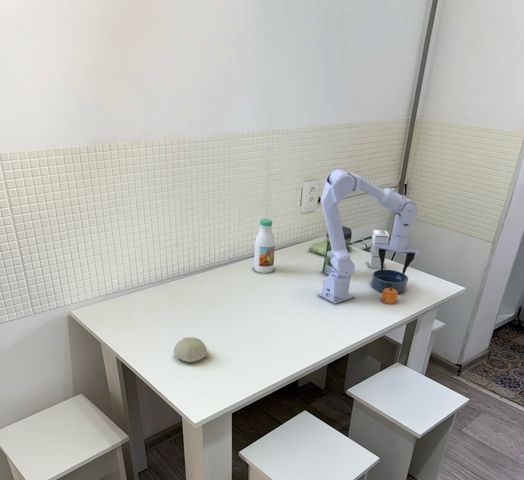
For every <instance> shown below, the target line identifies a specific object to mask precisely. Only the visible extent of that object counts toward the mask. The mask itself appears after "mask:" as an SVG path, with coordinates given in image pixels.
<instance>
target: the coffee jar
mask: <svg viewBox="0 0 524 480" xmlns="http://www.w3.org/2000/svg"><path fill="white" fill-rule="evenodd" d="M342 229H343V234H344V239H345V243H346V248H347V251H348V252H349V251H350V250H349V246H350V244H351V241H352V235H353V234H352V233H353V231H352V228H349V227H347V226H345V225H342ZM326 231H327V233H326V238H325V240H326V239H327V249H326V255H325V256H324V259H323V266H322V273H323V274H324V275H325V276H329V275H330V273H331V269H332V267H333V266H332V265H331V263H330V259H331V249H332V248H331V244H330V239H329V235H328V230H326Z"/></svg>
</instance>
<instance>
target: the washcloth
mask: <svg viewBox="0 0 524 480" xmlns="http://www.w3.org/2000/svg"><path fill="white" fill-rule="evenodd" d="M352 248H353V247H352V246H350V245H349V251H350V250H352ZM326 249H327V239H326V238H325V239H323V240H321V241H319V242H315V243H313V244H311V245H309V247H308V251H309V252H311V253H315V254H316V255H317V254H318V255H321V256H323V257H325V255H326Z"/></svg>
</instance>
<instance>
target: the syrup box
mask: <svg viewBox="0 0 524 480" xmlns="http://www.w3.org/2000/svg"><path fill="white" fill-rule="evenodd" d="M389 239H390V234H389V232H388V230H383V229H373V232H372V237H371V243H370V249H369V256H368V265H369V267H370V268H371V269H381V261H380V257H379V250H376V245H377V243H379V244H389ZM386 257H387V253H386V254H385V259H384V264H385V261H386ZM384 267H385V265H384V266H383V269H385V268H384Z"/></svg>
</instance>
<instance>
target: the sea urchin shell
mask: <svg viewBox="0 0 524 480" xmlns="http://www.w3.org/2000/svg"><path fill="white" fill-rule="evenodd" d="M173 354H174V356H175V357H176V358H177V359H178V360H180V361H182V362H185V363H193V362H197V361H200V360H202V359H204V358H205V357H206V356H207V345H206V344H205V342H204V341H202V340H201V339H200V338H198V337H195V336H191V337H189V336H188V337H183V338H182V339H180V340H178V341H177V343H176V344H175V345H174V348H173Z"/></svg>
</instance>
